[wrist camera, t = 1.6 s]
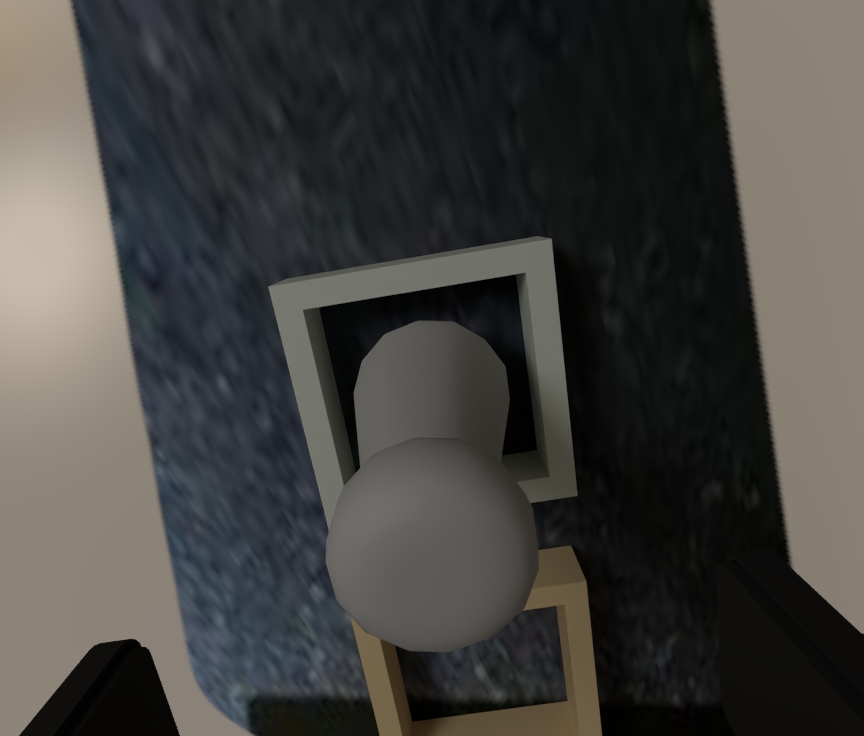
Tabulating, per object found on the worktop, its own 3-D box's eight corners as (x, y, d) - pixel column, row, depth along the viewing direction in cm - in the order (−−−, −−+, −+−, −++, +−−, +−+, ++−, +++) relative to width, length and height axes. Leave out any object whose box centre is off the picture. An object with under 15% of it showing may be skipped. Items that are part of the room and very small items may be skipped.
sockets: (286, 278, 21) (268, 286, 19) (537, 236, 21) (551, 238, 18) (396, 739, 28) (393, 789, 25) (589, 713, 27) (604, 762, 25)
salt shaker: (425, 279, 21) (420, 369, 9) (529, 370, 22) (659, 568, 10) (334, 385, 22) (213, 599, 10) (437, 466, 23) (446, 754, 11)
